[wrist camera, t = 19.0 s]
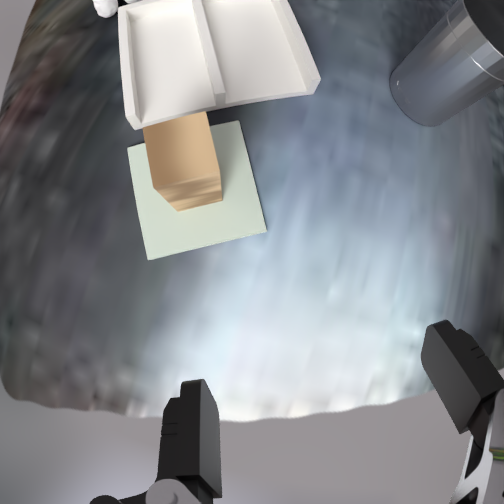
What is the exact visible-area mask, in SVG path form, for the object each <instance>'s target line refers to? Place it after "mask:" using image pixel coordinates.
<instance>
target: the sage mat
mask: <svg viewBox="0 0 504 504" xmlns="http://www.w3.org/2000/svg"><path fill="white" fill-rule="evenodd" d="M209 127H210V131H211V135H212V140H213V144H214V148H215V152H216V156H217V161H218V165H219V169H220V178H221V190H222V201H220V202H216V203H211V204H207V205H203V206H199V207H195V208H191V209H188V210H184V211H180V212H177V211H176V210H175V209H174V208H173V207H172V206H171V205H170V204H169V203H168V202H167V201H166V200H165V199H164V198H163V197H162V196H161V195H160V194H159V193H158V192H157V191H156V190H155V189H154V188H153V184H152V179H151V173H150V168H149V162H148V157H147V151H146V145H145V143H142V144H139V145H136V146H132V147H129V148H127V149H128V156H129V162H130V169H131V175H132V181H133V187H134V193H135V198H136V204H137V209H138V214H139V220H140V225H141V230H142V234H143V239H144V244H145V248H146V253H147V258H148V260H152V259H156V258H160V257H164V256H168V255H172V254H176V253H180V252H184V251H189V250H193V249H197V248H201V247H205V246H209V245H213V244H217V243H222V242H226V241H230V240H234V239H238V238H242V237H247V236H251V235H255V234H259V233H264V232H267V230H266V226H265V222H264V218H263V213H262V209H261V205H260V201H259V197H258V193H257V189H256V185H255V181H254V177H253V174H252V170H251V166H250V162H249V158H248V154H247V150H246V146H245V142H244V138H243V134H242V131H241V127H240V123H239V120H238V121H233V122H228V123H223V124H218V125H214V126H209Z"/></svg>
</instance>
